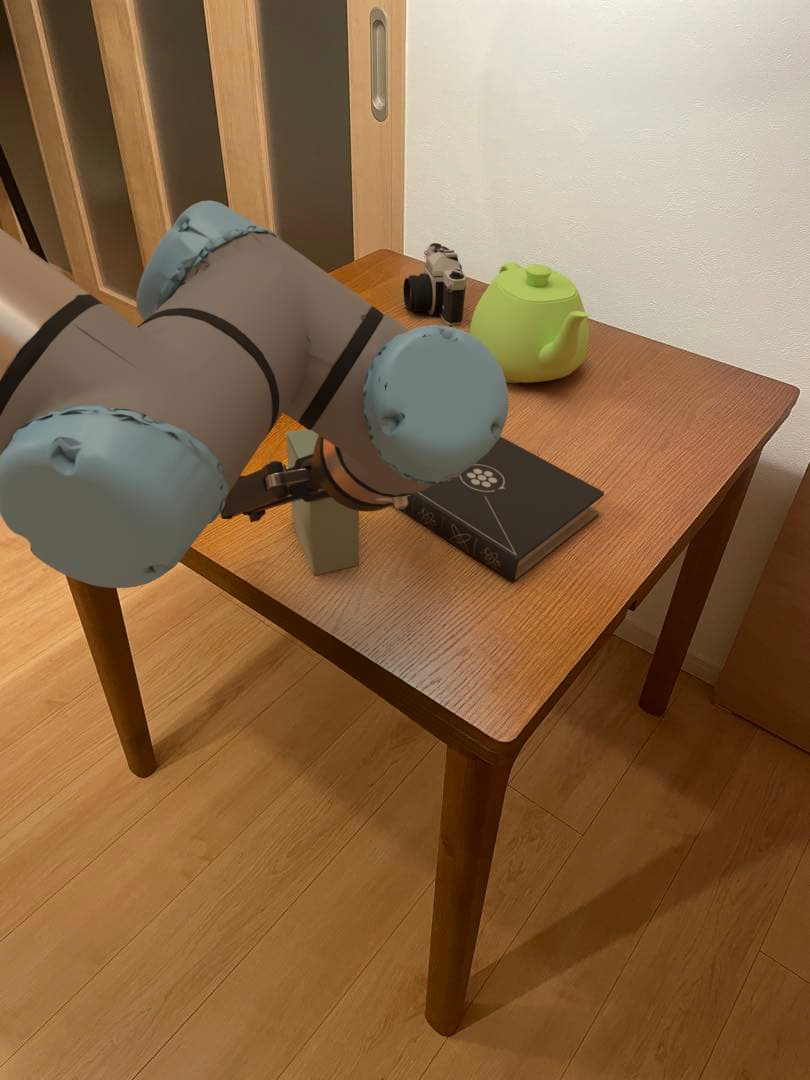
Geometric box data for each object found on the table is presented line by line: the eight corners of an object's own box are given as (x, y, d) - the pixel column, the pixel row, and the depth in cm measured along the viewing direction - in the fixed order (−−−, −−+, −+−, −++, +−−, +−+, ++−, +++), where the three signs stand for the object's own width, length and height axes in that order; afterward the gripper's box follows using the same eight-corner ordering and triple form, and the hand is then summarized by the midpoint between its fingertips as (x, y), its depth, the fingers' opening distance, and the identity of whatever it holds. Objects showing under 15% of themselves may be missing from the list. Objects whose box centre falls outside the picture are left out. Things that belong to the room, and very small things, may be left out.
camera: (392, 290, 121) (394, 233, 115) (440, 285, 123) (445, 228, 117) (418, 336, 113) (422, 277, 106) (469, 329, 115) (476, 271, 108)
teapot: (619, 403, 100) (644, 304, 91) (510, 420, 96) (525, 319, 87) (542, 323, 115) (557, 232, 106) (445, 335, 111) (452, 242, 102)
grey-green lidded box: (313, 575, 75) (307, 478, 67) (292, 523, 81) (284, 427, 73) (359, 565, 76) (359, 468, 69) (335, 514, 82) (333, 419, 74)
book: (353, 481, 86) (353, 459, 84) (445, 428, 94) (446, 406, 92) (511, 584, 75) (515, 561, 73) (599, 514, 83) (605, 492, 81)
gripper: (202, 543, 50) (197, 560, 71) (552, 471, 57) (455, 506, 78) (176, 427, 51) (179, 478, 71) (529, 369, 57) (439, 431, 78)
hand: (323, 492), depth 74 cm, fingers open, 13 cm apart
